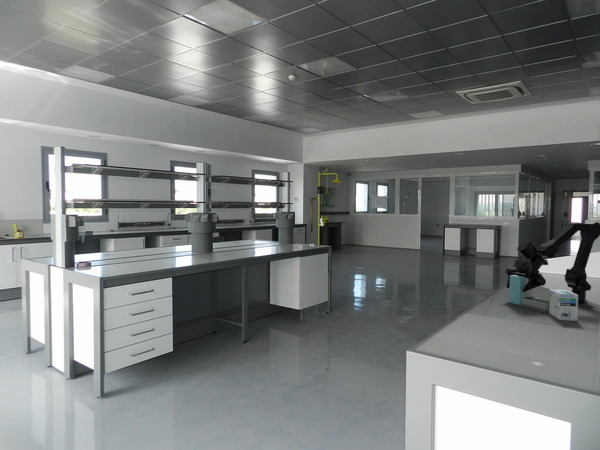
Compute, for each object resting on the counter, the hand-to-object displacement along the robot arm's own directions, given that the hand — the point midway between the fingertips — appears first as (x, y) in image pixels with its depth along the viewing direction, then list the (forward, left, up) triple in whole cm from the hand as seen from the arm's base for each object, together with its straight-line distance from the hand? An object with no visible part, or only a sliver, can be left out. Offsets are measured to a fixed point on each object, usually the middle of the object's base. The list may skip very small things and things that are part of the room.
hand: (514, 289), depth 186 cm
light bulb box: (+11, +23, -7) cm, 26 cm away
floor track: (+2, +12, -7) cm, 13 cm away
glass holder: (-26, -5, -7) cm, 28 cm away
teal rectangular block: (-1, +1, -7) cm, 7 cm away
